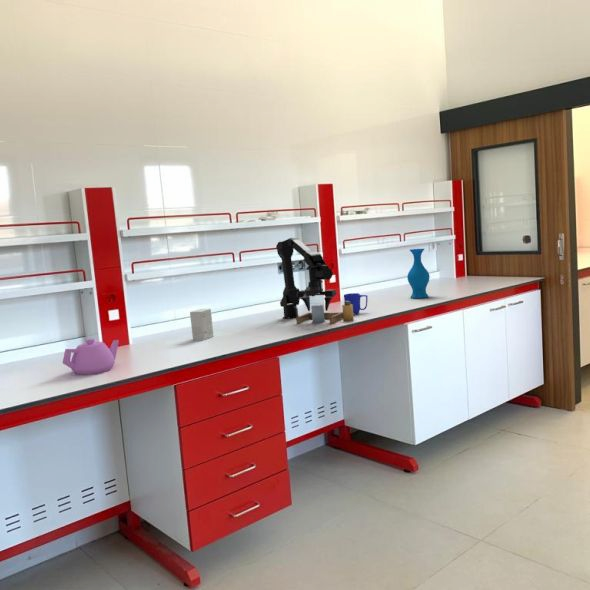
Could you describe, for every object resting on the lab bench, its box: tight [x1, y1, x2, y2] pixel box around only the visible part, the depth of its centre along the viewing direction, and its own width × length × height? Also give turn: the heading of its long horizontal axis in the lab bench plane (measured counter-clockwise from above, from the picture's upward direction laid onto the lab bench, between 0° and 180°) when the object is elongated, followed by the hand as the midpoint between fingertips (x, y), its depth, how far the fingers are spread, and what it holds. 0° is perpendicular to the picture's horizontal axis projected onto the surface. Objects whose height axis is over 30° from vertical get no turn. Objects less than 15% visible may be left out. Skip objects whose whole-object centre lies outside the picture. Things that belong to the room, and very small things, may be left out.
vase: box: [407, 248, 431, 299], centre depth 352 cm, size 12×13×28 cm
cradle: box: [295, 311, 343, 325], centre depth 299 cm, size 19×14×3 cm
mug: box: [343, 292, 368, 315], centre depth 313 cm, size 8×12×10 cm
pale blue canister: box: [310, 304, 326, 324], centre depth 298 cm, size 6×9×8 cm
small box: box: [189, 308, 214, 341], centre depth 276 cm, size 8×6×13 cm
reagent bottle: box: [341, 300, 355, 322], centre depth 294 cm, size 5×5×9 cm
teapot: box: [62, 338, 120, 376], centre depth 227 cm, size 22×16×12 cm
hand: (317, 311), depth 297 cm, fingers open, 9 cm apart
